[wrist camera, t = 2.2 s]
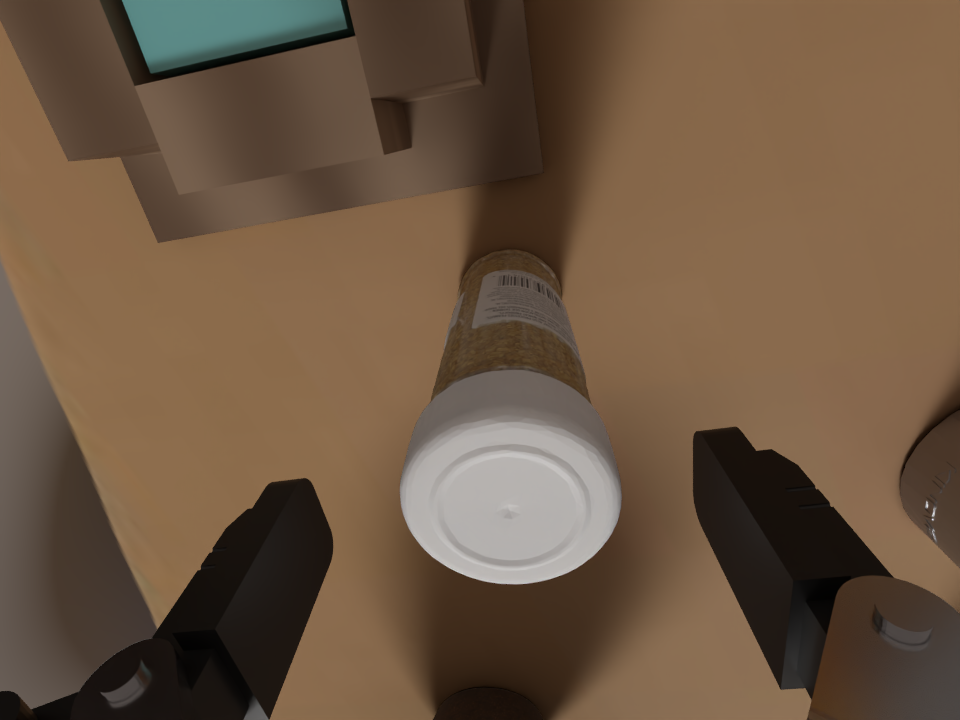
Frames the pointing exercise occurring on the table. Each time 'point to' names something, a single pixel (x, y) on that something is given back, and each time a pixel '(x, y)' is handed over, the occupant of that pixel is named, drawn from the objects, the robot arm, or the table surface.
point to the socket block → (290, 110)
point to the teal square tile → (230, 29)
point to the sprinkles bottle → (510, 436)
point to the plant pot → (487, 706)
